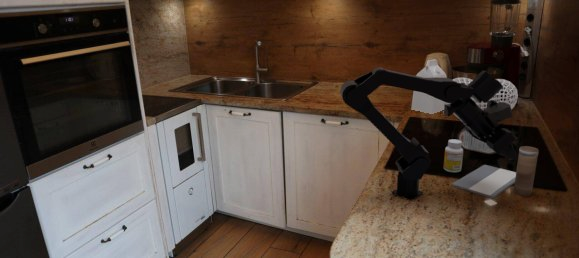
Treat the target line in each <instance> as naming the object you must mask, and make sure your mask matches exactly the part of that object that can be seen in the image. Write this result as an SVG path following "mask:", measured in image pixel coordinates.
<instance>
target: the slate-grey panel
mask: <svg viewBox="0 0 579 258" xmlns="http://www.w3.org/2000/svg"><path fill="white" fill-rule="evenodd" d="M515 177H516V171H511V170H508V169H504V168H501V167H500V168H499V167H496V166H491V165H487V164H483V165H481V166H480V167H478V168H477V169H475V170H473V171H471V172H469V173H468V174H465V176H462V177H461V178H459V179H457V180H455V181H454V182H452V183H451V186H452V187H454V188H456V189H457V188H458V189H462V190H463V191H467V192H470V193H474V194H476V195H480V196H483V197H487V198H490V199H494V198H496V197H498V196H499V195H500V194H501V193H503V192H504V191H505V190H507V189H508V188H510V187H511V186H512V185H514V184H515Z"/></svg>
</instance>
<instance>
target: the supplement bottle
mask: <svg viewBox="0 0 579 258" xmlns="http://www.w3.org/2000/svg"><path fill="white" fill-rule="evenodd" d="M461 145H462V141H460V140H458V139H453V138H452V139H448V142H447V146H446V147H445V150H444V158H443V169H444V170H445V172H449V173H459V172H461V171H462V166H463V157H464V148H463V147H462V146H461Z"/></svg>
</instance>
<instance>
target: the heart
mask: <svg viewBox="0 0 579 258" xmlns="http://www.w3.org/2000/svg"><path fill="white" fill-rule="evenodd" d="M495 79H496V80H498V81H499V82H500V83H501V84H502V86H503V88H502V89H501V90H500V91H499V92H498V93H497V94H496V95H495V96H493V97H492V98H491V99H490V100H494V101H496V102H497V103H498V102H505V103H507V104H509V105H510V107H511V109H512V110H513V109H514V108H515V106H516V104H517V102H518V99H519V97H518V96H519V94H518V89H517V87H516V86H515V85H514V84H513V83H512V82H511V81H509V80H506V79H503V78H495ZM452 80H453V81H455V82H457V83H464V84H466V85H468V84H470V83H471V82H472V81H473V80H474V79H471V78H469V77H468V78H467V77H456V78H453V79H452ZM501 92H502V93H501ZM501 96H502V97H501ZM470 98H471V99H472V100H473V101H474V102H475V103H476V104H477V105H478V106H479V107H480V108H481V109H482V110H483V111H484V110H485V109H486V108H487V103H484V102H481V103H479V102H477V101H476V100H475V99H474V98H473V97H470ZM501 99H502V100H501ZM490 100H489V101H490ZM445 104H446V105H447V104H450V103H446V102H445ZM452 115H454V116H455V117H456V118H458V117H457V116H456V114H455V113H453V114H452Z"/></svg>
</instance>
